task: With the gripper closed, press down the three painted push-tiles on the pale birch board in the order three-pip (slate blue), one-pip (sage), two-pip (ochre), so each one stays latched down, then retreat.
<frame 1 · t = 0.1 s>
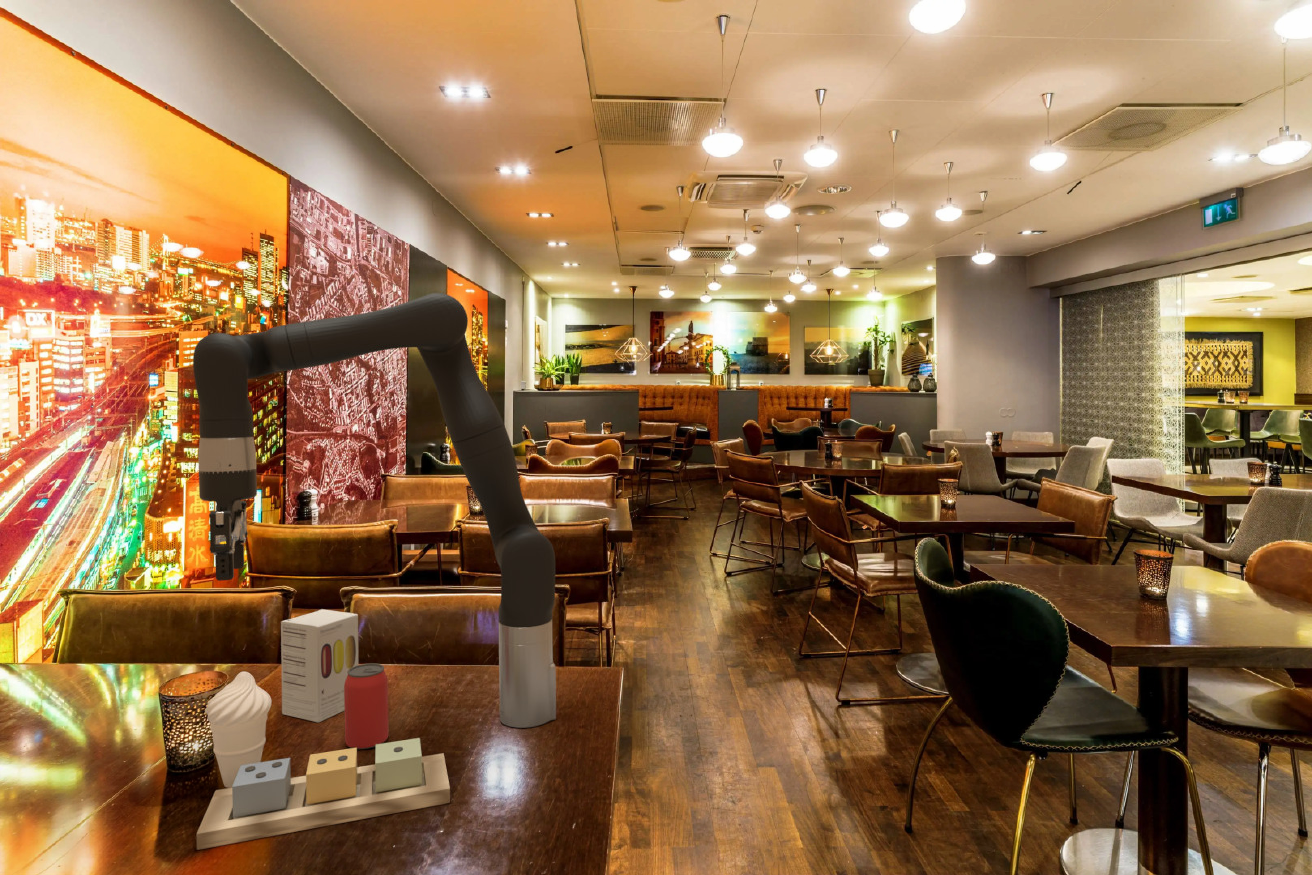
hand: (230, 573, 110), 29 cm above the table, tool pointing down, fingers open, 8 cm apart
tile two: (332, 774, 99), point 4 cm above the table, slide at 0.0 cm
soft serve ice cream cone: (240, 782, 106), on the table
tile one: (398, 763, 102), point 4 cm above the table, slide at 0.0 cm
beer can: (367, 742, 118), on the table
tile three: (262, 785, 96), point 4 cm above the table, slide at 0.0 cm
board: (333, 803, 100), on the table
supplement box: (321, 710, 131), on the table
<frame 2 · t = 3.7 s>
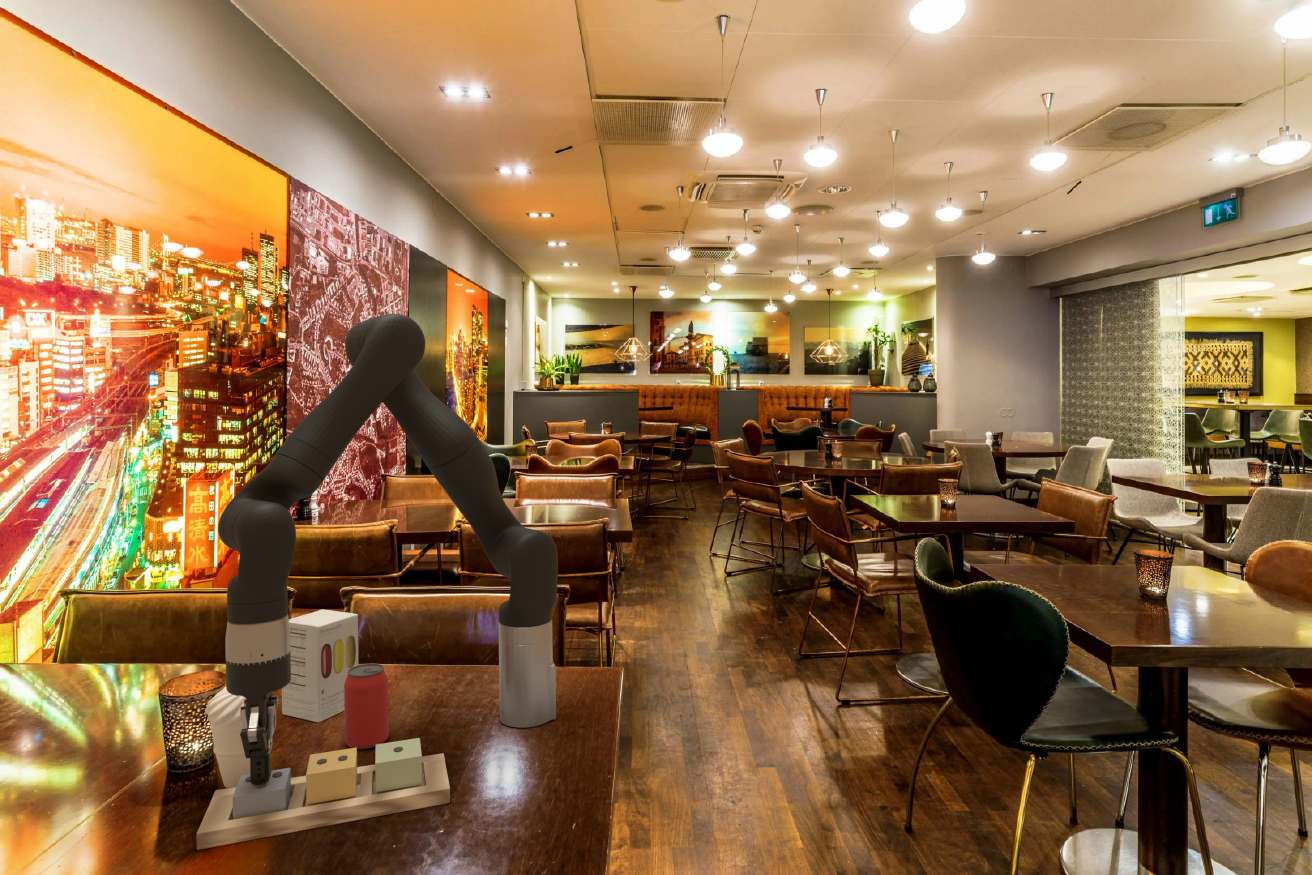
hand: (260, 780, 96), 5 cm above the table, tool pointing down, fingers closed
tile three: (262, 795, 96), point 3 cm above the table, slide at 1.4 cm, touching gripper
everything else where it was.
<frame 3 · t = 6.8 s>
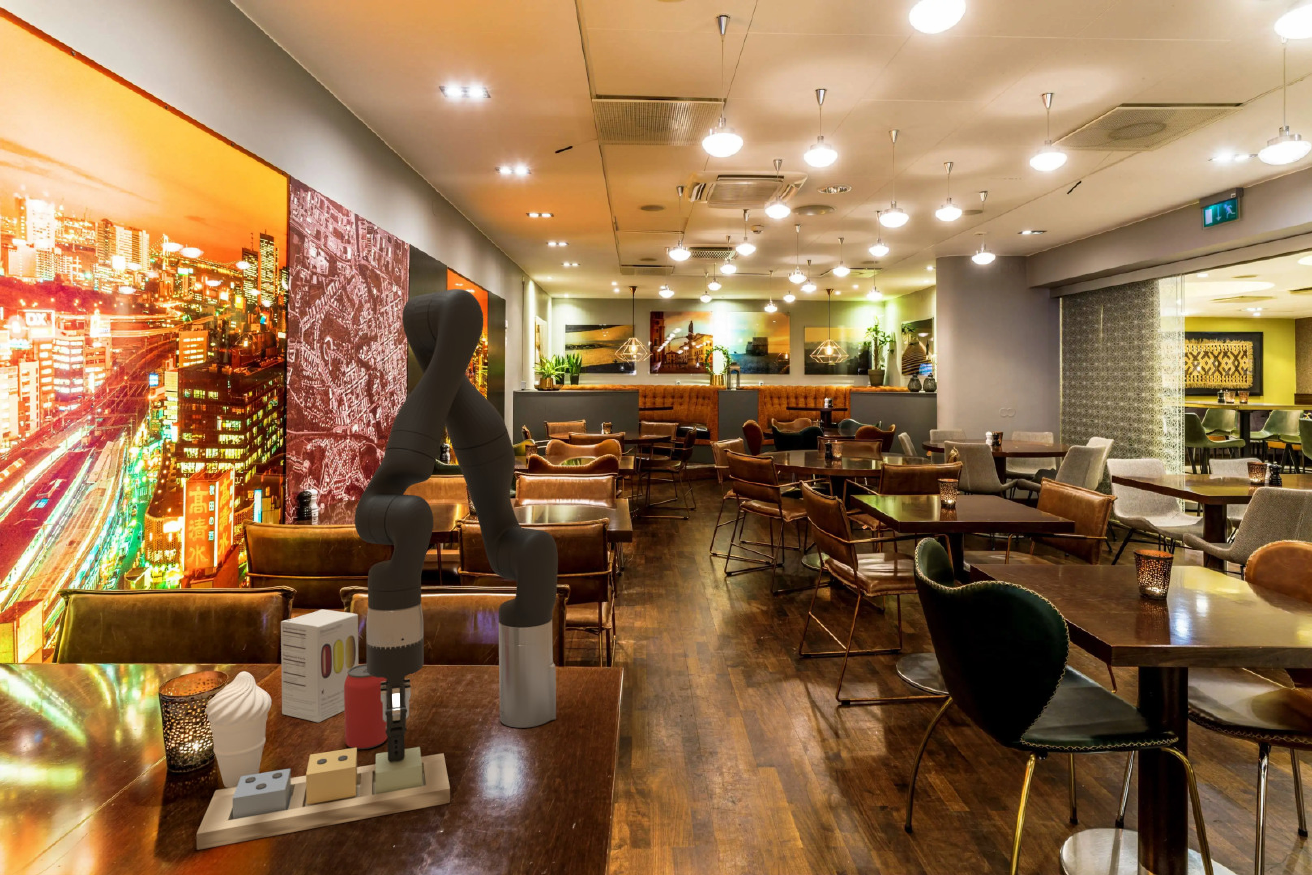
hand: (396, 758, 102), 5 cm above the table, tool pointing down, fingers closed
tile one: (398, 772, 102), point 3 cm above the table, slide at 1.3 cm, touching gripper
tile three: (262, 796, 96), point 3 cm above the table, slide at 1.5 cm
everything else where it was.
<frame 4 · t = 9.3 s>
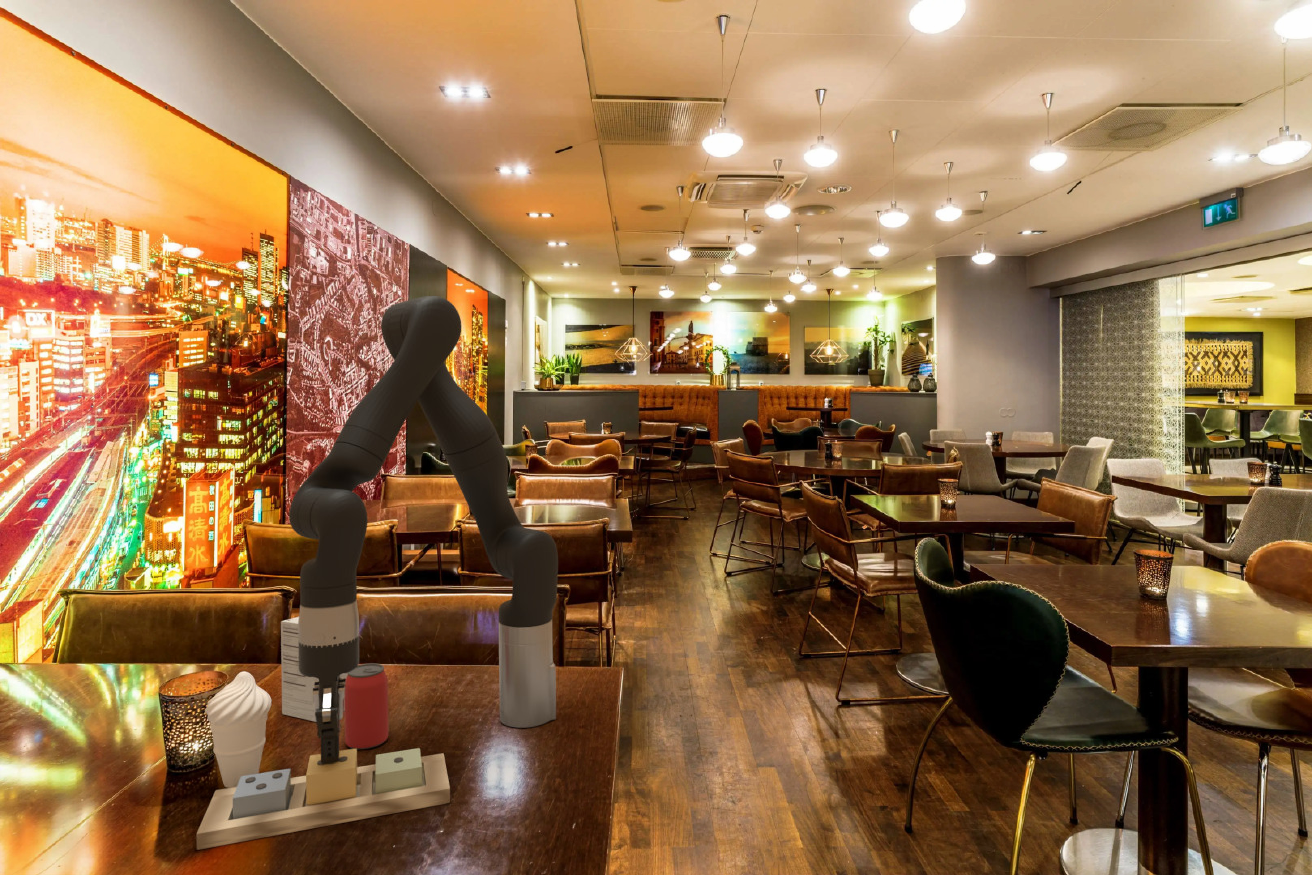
hand: (330, 760, 99), 6 cm above the table, tool pointing down, fingers closed
tile two: (332, 775, 99), point 4 cm above the table, slide at 0.1 cm, touching gripper
tile one: (398, 773, 102), point 3 cm above the table, slide at 1.5 cm
everything else where it was.
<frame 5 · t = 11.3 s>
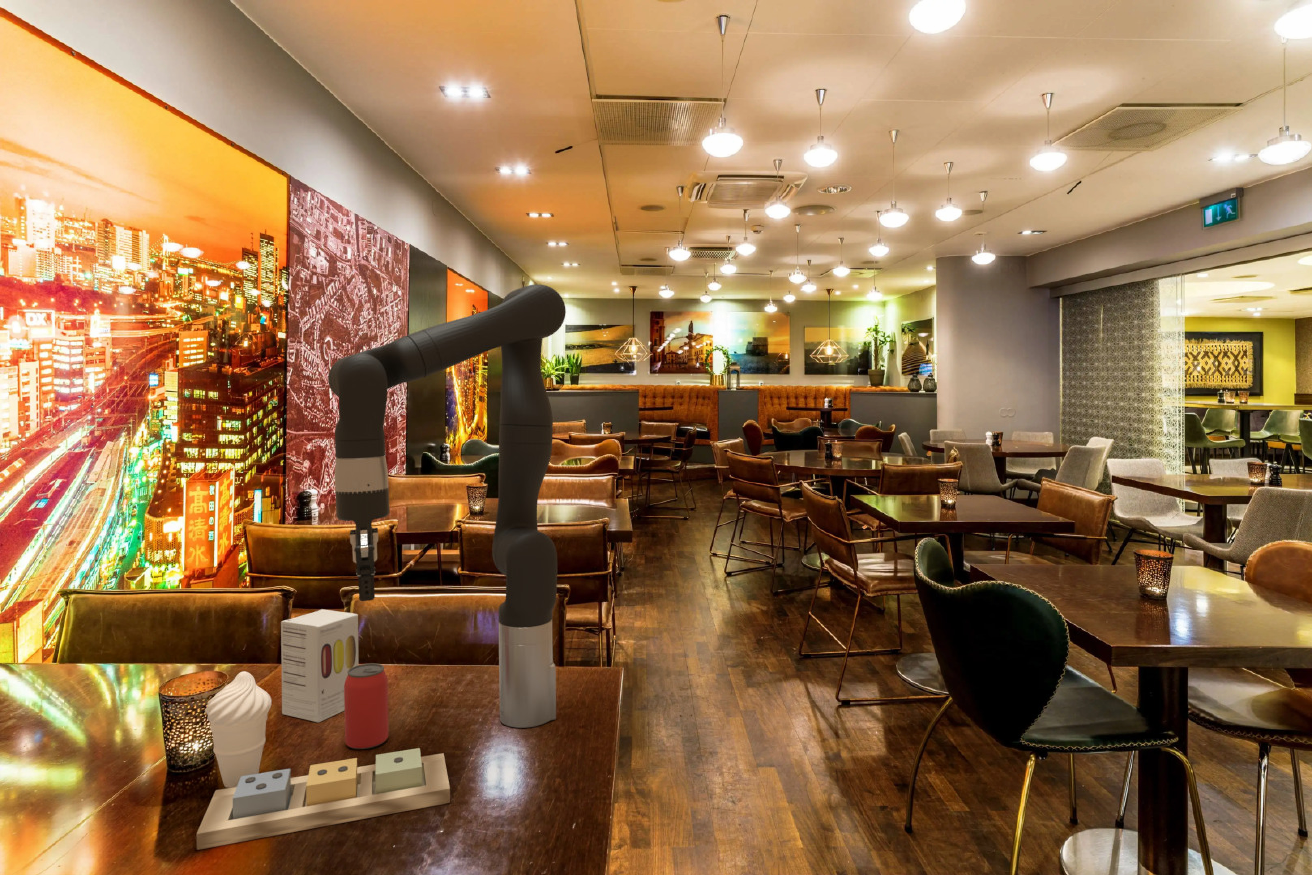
hand: (367, 599, 111), 25 cm above the table, tool pointing down, fingers closed
tile two: (332, 784, 99), point 3 cm above the table, slide at 1.5 cm
everything else where it was.
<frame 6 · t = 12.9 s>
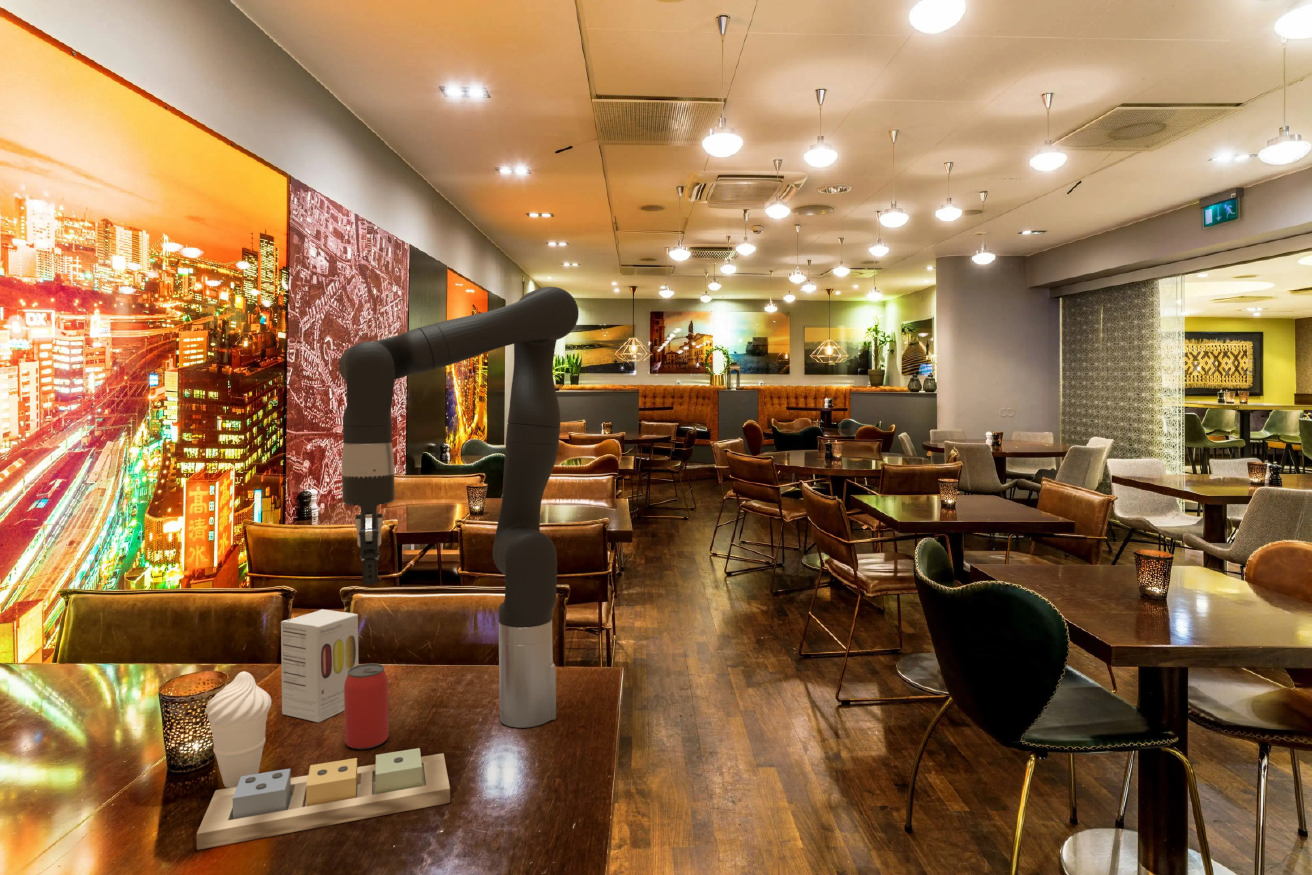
hand: (370, 583, 113), 27 cm above the table, tool pointing down, fingers closed
nothing on the table moved.
at the end: tile three slide at 1.5 cm; tile one slide at 1.5 cm; tile two slide at 1.5 cm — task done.
